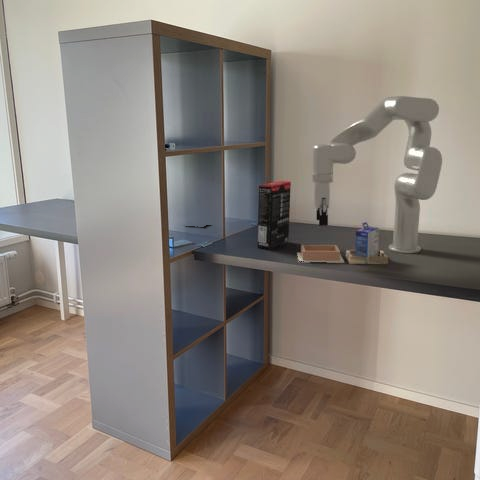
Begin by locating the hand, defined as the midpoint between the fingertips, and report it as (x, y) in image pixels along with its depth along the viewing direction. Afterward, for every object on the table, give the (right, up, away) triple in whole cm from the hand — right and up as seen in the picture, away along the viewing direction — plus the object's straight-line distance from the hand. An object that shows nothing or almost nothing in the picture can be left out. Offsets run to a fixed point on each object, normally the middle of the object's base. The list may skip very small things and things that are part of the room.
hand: (322, 222), depth 189 cm
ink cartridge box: (+17, -15, 0) cm, 22 cm away
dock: (0, -14, +3) cm, 15 cm away
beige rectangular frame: (+17, -15, 0) cm, 23 cm away
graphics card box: (-17, -9, +25) cm, 31 cm away
